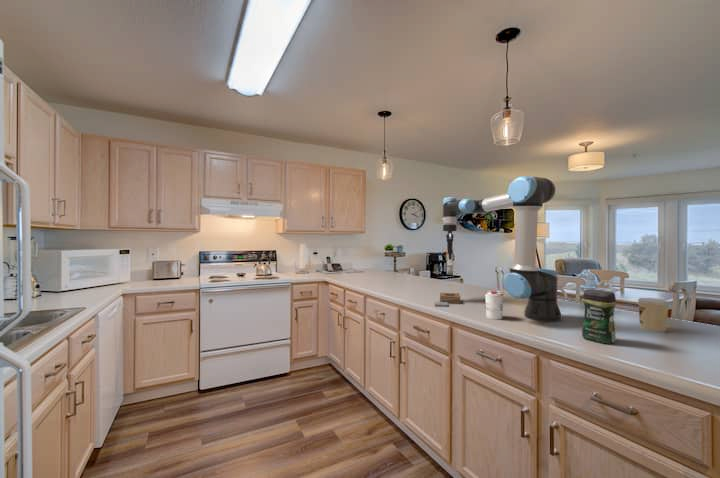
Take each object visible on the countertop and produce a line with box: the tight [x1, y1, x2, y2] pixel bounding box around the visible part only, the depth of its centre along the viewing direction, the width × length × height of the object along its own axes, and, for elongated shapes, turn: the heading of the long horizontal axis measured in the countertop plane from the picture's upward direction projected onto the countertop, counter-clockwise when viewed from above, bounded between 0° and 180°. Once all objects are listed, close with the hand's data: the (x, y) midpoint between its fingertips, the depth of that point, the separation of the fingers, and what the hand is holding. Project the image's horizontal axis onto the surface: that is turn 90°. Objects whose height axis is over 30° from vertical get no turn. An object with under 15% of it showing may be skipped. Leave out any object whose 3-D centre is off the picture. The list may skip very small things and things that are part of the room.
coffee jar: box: [581, 288, 617, 344], centre depth 117 cm, size 10×8×19 cm
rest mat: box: [434, 301, 449, 308], centre depth 176 cm, size 7×7×1 cm
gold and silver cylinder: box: [445, 249, 454, 275], centre depth 184 cm, size 4×4×14 cm
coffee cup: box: [637, 297, 670, 333], centre depth 130 cm, size 9×9×12 cm
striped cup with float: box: [484, 290, 505, 321], centre depth 149 cm, size 10×8×12 cm
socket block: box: [439, 292, 461, 305], centre depth 184 cm, size 11×11×4 cm
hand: (449, 264), depth 184 cm, fingers closed on gold and silver cylinder, 4 cm apart
